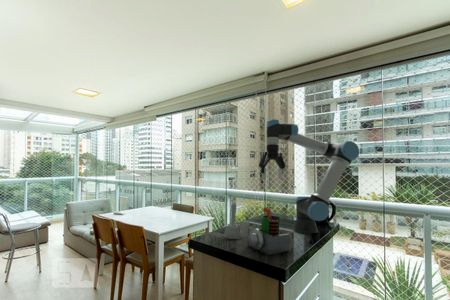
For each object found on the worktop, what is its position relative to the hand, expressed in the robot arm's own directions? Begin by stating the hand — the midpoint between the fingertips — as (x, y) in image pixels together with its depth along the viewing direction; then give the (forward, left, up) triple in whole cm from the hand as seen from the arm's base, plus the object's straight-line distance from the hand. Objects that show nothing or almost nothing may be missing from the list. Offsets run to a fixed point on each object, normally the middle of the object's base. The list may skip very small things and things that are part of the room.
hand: (272, 179), depth 144 cm
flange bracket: (+17, +14, -35) cm, 41 cm away
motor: (+15, +14, -35) cm, 40 cm away
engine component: (+20, -12, -35) cm, 42 cm away
